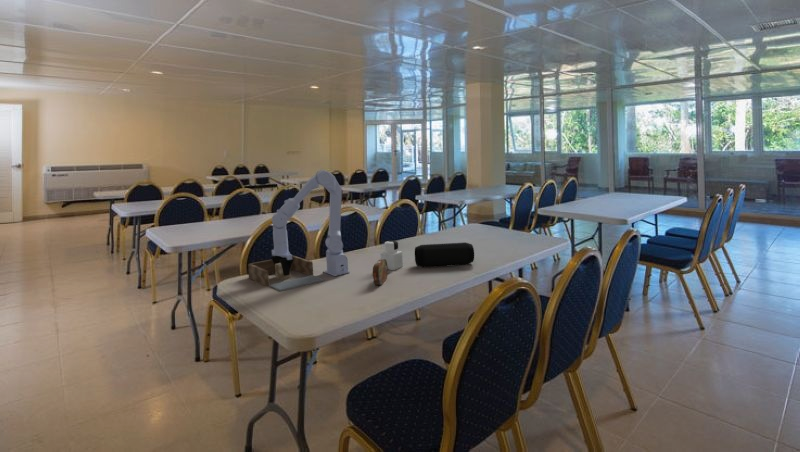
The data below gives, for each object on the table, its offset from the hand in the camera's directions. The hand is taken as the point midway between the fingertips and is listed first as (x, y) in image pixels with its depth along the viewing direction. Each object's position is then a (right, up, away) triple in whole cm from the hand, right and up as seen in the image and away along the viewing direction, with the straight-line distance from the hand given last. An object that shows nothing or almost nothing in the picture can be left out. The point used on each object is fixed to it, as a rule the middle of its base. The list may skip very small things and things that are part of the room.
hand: (283, 273), depth 182 cm
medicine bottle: (+45, +1, +12) cm, 47 cm away
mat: (+8, -3, -9) cm, 12 cm away
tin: (+41, -3, -9) cm, 42 cm away
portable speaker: (+69, +2, +14) cm, 70 cm away
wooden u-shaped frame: (-1, -1, +2) cm, 3 cm away
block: (0, -2, 0) cm, 2 cm away
